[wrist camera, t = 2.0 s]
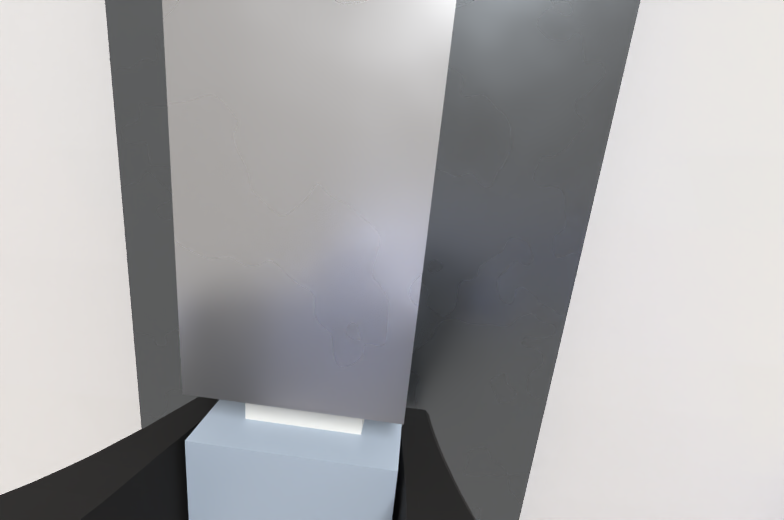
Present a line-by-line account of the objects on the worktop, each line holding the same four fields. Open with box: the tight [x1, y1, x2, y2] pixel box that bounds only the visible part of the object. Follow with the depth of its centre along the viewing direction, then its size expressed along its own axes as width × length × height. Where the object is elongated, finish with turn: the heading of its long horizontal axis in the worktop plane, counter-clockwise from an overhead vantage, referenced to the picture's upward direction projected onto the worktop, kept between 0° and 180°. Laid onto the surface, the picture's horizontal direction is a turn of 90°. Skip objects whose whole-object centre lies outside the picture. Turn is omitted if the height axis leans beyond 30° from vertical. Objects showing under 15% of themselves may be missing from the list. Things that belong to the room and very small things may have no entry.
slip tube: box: [185, 399, 402, 520], centre depth 9 cm, size 4×16×4 cm, turn 174°
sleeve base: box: [105, 0, 640, 520], centre depth 10 cm, size 12×28×5 cm, turn 174°
